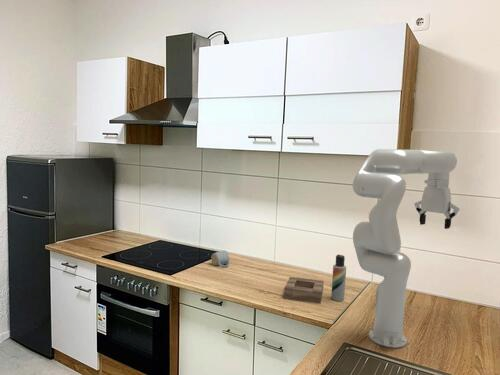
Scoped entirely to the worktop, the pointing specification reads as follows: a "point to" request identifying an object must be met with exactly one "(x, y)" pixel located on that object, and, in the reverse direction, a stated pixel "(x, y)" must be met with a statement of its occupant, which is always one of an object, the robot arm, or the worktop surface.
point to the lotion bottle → (338, 279)
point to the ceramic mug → (220, 258)
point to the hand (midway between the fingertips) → (434, 226)
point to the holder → (304, 290)
